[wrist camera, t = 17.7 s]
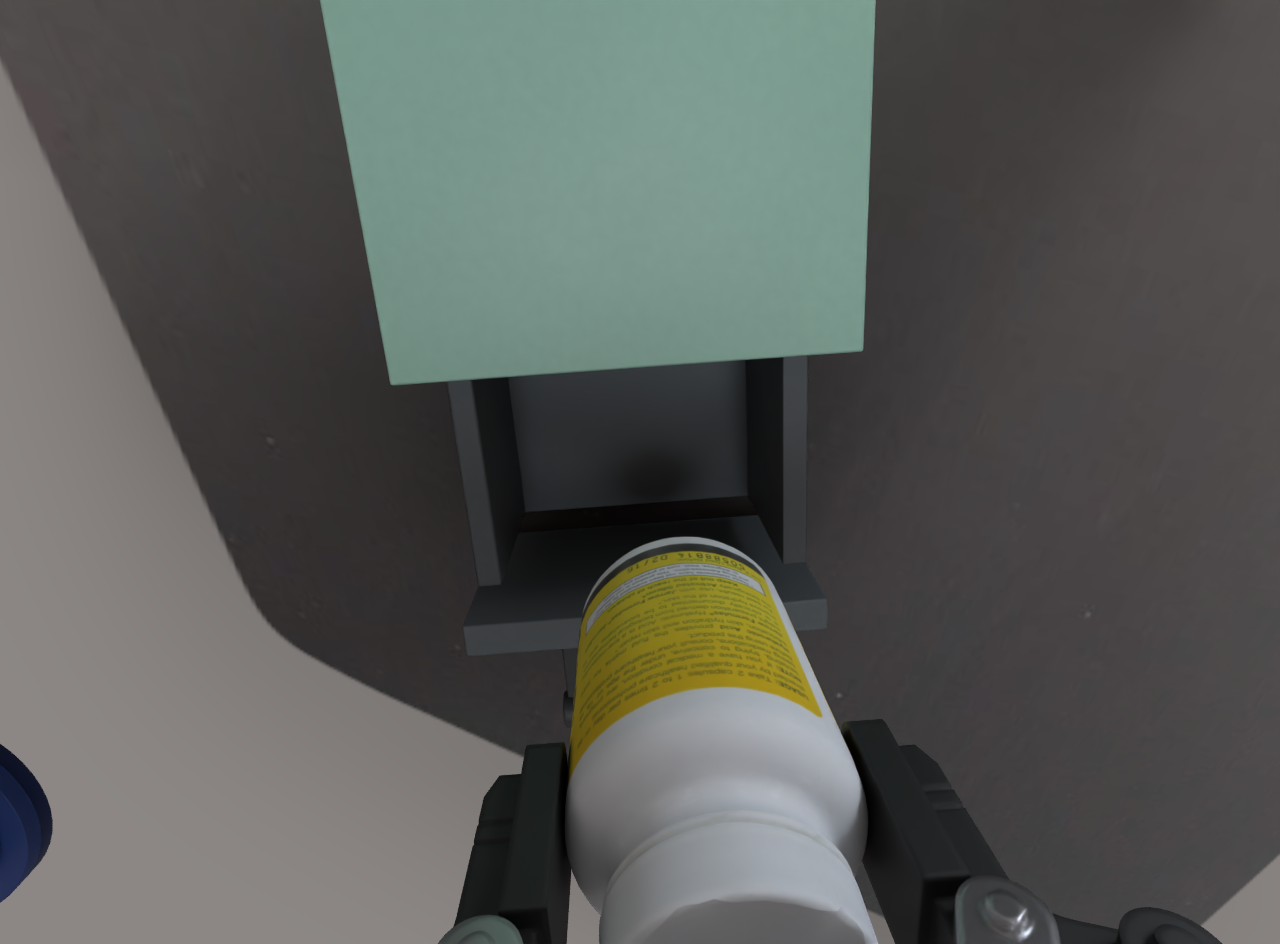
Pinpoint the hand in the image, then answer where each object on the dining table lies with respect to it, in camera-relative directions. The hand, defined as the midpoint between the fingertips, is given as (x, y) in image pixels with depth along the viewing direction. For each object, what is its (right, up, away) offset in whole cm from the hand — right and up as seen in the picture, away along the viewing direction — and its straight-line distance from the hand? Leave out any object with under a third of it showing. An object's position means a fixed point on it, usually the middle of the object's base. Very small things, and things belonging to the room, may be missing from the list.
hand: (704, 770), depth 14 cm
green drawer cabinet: (-2, +19, +13) cm, 23 cm away
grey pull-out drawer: (-2, +7, +16) cm, 18 cm away
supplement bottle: (0, +2, +5) cm, 6 cm away
